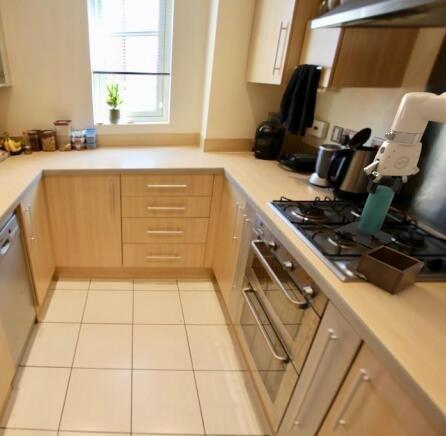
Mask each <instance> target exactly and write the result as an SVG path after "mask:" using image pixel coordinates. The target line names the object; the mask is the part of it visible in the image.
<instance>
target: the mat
mask: <svg viewBox="0 0 446 436" xmlns="http://www.w3.org/2000/svg"><path fill="white" fill-rule="evenodd" d="M338 231H340V232H342V231H348V232H350V233H352V234H354V235H357V236H356V237H357V238H356V241H358V242H360V243H364V241H365V242H368V243H371V240H370V239H372V237H371V236H372V235H373V236H374V237H375V238H378V239H379V241H380V242H382V244H383V243H386V244H388V243H390V242H391V237H392V236H393V235H392V234H389V233H387V232H385V231H382V230H380V231H379V232H378V233H369V232H365V231H362V230H360V229H359V228H358V221H357V220H356V221H353V222H350V223H348V224H345V225H343V226H340V227H337V228H334V229H333V230H332V233H335V234H337V232H338Z"/></svg>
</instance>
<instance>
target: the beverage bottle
mask: <svg viewBox="0 0 446 436" xmlns="http://www.w3.org/2000/svg"><path fill="white" fill-rule="evenodd" d="M395 179H396V178H393V177H392V176H382V177H381V178H380V179H379V180H378V183H379V184H378V187H377V190H376V192H375V194H371V193H369V192H368V193H369V194H368V197H367V198H366V201H365V204H364V207H363V210H362V211H361V215H360V217H359V219H358V221H357V222H358V228H359V229H360V230H362V231H365V232H369V233H378V232H379V231H381V230H382V227H383V225H384V222H385V219H386V217H387V215H388V212H389V210H390V207H391V204H392V201H393V199H394V196H395V195H396V194H395V192H394V191H393V190H392V189H391V186H393V185H394V182H395Z"/></svg>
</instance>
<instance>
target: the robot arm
mask: <svg viewBox="0 0 446 436" xmlns="http://www.w3.org/2000/svg"><path fill="white" fill-rule="evenodd" d="M429 121H430V122H434V123H440V124H446V91H445V92H443V93H441V94H440V95H439V94H436V93H434V92H433V93H432V92H425V91H424V92H423V91H413V92H407V93H405V94H404V95H403V96H402V98H401V101H400V103H399V105H398V109H397V111H396V114H395V117H394V118H393V121H392V124H391V127H390V129H389V132H387V133H385V134H384V138H385V140H383V142H382V144H381V145H380V147H379V149H378V151H377V153H376V155H375V158H374V159H373V162H372V163H371V164H369V165H368V166H366V167H364V168H363V172H364V173H365V175H366V177H367V178H368V180H369V181H368V184H367V187H366V192H367V193H371V194H375V192H376V190H377V187H378V186H379V185H380V184H379V183H378V180H379V179H380V178H381V177H383V176H385V177H396V178H394V179H395V182H394V185H393V186H390V188H391V189H392V190H393V191H394V192H395V194H394V195H399V194H400V192H401V190H402V188H403V185H404V183H407V182H408V180H409V179H411V178H412V177H413V176H414V175H416V174H417V173H419V172H420V168H419V167H418V166H417V165H418V162H419V159H420V156H421V152H422V144H423V143H422V142H421V140H422V137H423V135H424V133H425V130H426V128H427V125H428V123H429Z"/></svg>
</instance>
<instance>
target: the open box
mask: <svg viewBox="0 0 446 436" xmlns="http://www.w3.org/2000/svg"><path fill="white" fill-rule="evenodd" d="M424 265H425V262H424V261H421V260H419V259H418V258H415V257H412V256H410V255H407V254H405V253H403V252H401V251H398V250H396V249H393V248H391V247H389V246H388V245H386V246H384V245H381V246H379V247H376V248H374V249H370V250H368V251H366V252H363V253H361V255H360V258H359V260H358V263H357V264H356V267H355V270H356V271H357V272H359V273H361V274H363V275H364V276H365V277H366V278H367V281H366V282H368V283H370V284H372V285H374V286H376V287H378V288H379V289H382V290H383V291H385V292H388V293H389V294H391V295H393V296H394V295H396V294H398V293H400V292H401V291H403V290H405V289H407V288H408V287H410V286H411V285H414V284H415V283H416V280H417V278H418V277H419V274H420V273H421V270H422V269H423V267H424Z"/></svg>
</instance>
